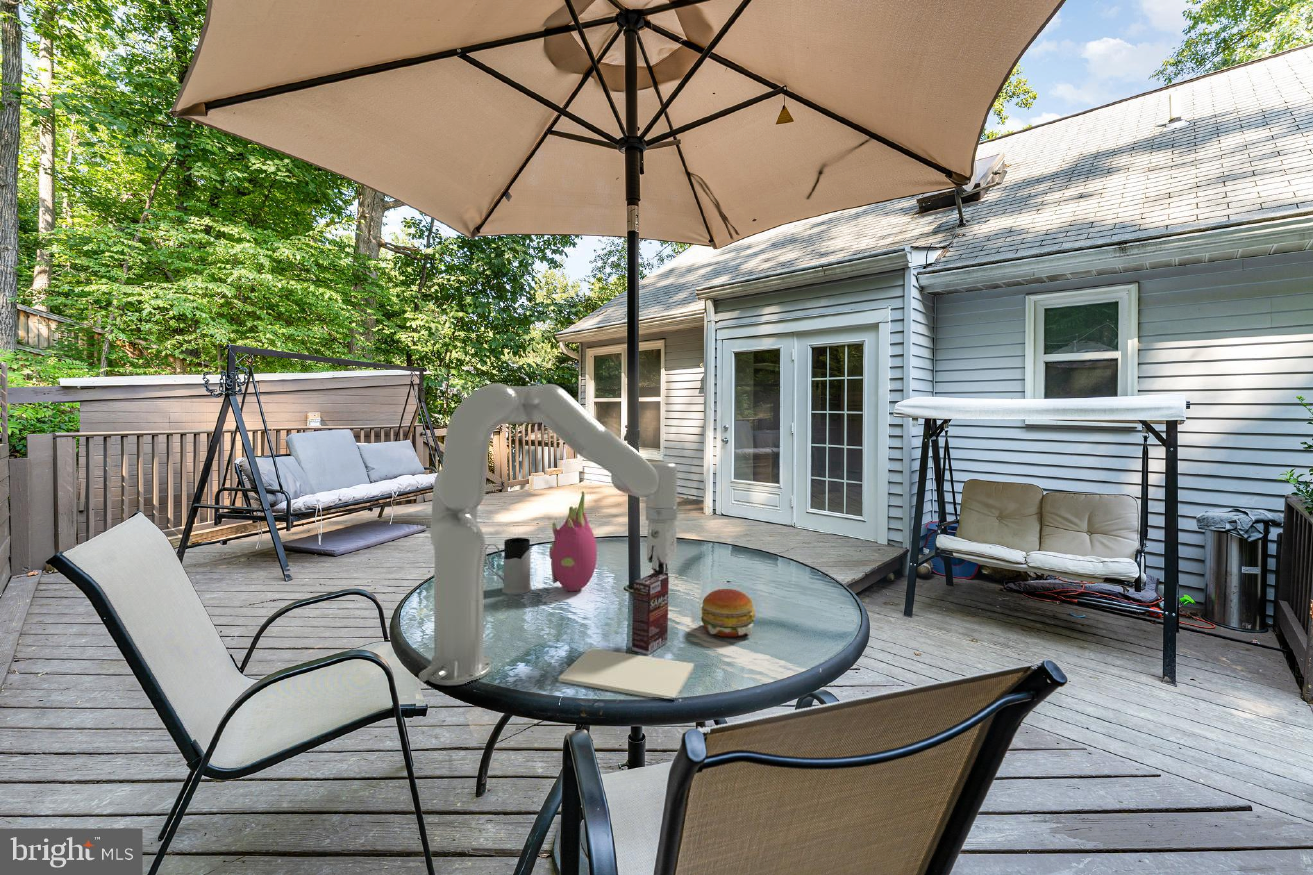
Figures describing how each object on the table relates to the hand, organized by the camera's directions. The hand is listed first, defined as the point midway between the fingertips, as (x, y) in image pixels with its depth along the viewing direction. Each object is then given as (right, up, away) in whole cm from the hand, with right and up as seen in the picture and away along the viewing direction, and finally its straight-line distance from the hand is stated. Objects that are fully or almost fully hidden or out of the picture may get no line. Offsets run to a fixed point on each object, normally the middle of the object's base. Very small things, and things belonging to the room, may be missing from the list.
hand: (660, 589), depth 135 cm
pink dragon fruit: (-26, -10, +35) cm, 45 cm away
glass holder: (-46, -10, +35) cm, 58 cm away
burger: (+17, -12, +4) cm, 21 cm away
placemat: (-7, -12, -20) cm, 24 cm away
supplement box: (-2, -12, -6) cm, 13 cm away
